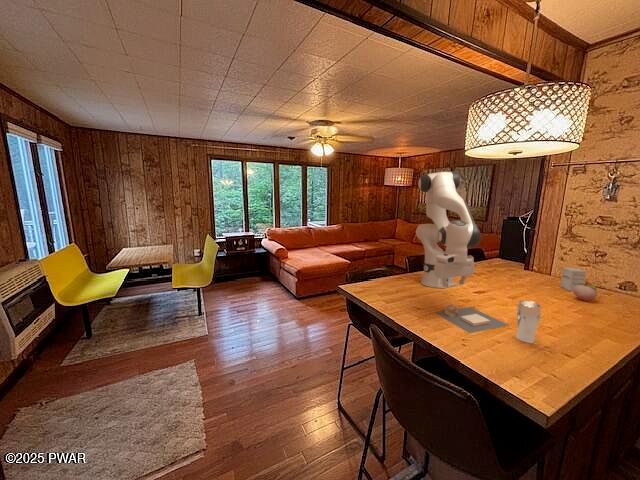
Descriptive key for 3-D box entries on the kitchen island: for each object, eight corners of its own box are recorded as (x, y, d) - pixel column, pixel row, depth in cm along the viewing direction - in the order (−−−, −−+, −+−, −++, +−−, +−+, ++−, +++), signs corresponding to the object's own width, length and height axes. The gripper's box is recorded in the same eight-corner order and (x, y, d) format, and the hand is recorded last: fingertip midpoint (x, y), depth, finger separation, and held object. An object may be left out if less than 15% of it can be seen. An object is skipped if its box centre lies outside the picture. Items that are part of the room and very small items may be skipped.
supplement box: (559, 286, 162) (562, 267, 160) (573, 287, 161) (576, 267, 159) (569, 291, 155) (572, 270, 153) (583, 291, 153) (586, 270, 151)
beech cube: (451, 312, 125) (452, 304, 125) (458, 315, 122) (458, 307, 121) (444, 313, 124) (445, 305, 124) (451, 317, 120) (451, 308, 120)
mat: (470, 308, 131) (470, 307, 131) (509, 326, 112) (509, 325, 112) (434, 314, 125) (434, 312, 125) (469, 334, 106) (469, 333, 106)
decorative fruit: (598, 301, 138) (601, 283, 137) (593, 305, 134) (596, 286, 132) (574, 296, 146) (577, 279, 145) (569, 299, 142) (572, 281, 140)
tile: (476, 313, 120) (461, 316, 117) (490, 320, 113) (474, 323, 111) (476, 317, 120) (460, 319, 118) (489, 323, 114) (473, 326, 111)
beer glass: (511, 334, 106) (515, 299, 104) (532, 337, 103) (537, 301, 101) (517, 342, 100) (521, 306, 97) (539, 346, 97) (544, 308, 95)
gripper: (468, 253, 124) (465, 281, 127) (432, 256, 119) (430, 285, 121) (479, 256, 118) (476, 285, 121) (442, 259, 113) (440, 289, 115)
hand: (453, 285), depth 121 cm, fingers open, 8 cm apart
